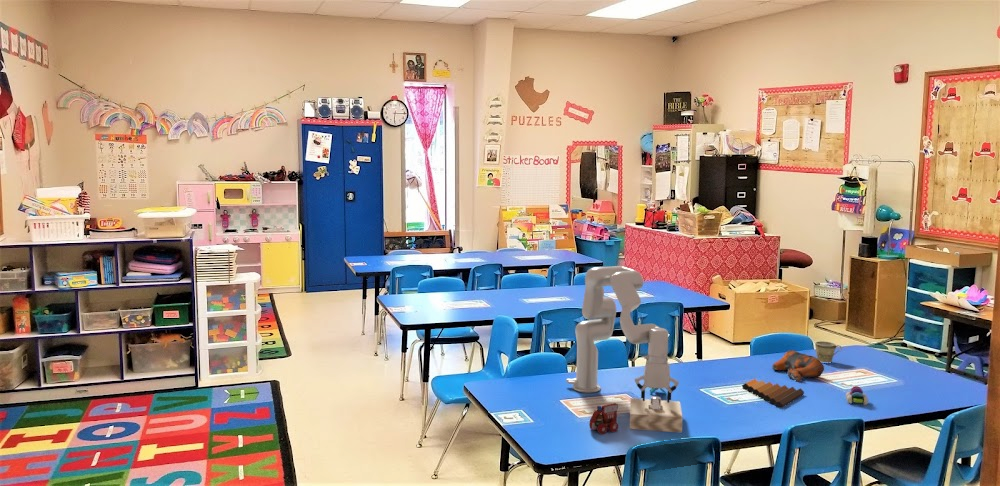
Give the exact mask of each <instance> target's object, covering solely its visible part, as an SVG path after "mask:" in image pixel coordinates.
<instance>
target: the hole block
mask: <svg viewBox="0 0 1000 486" xmlns="http://www.w3.org/2000/svg"><path fill="white" fill-rule="evenodd" d="M629 404H630V407H629V409H630V410H629V429H630V430H639V431H643V430H644V431H655V432H668V433H683V412H682V411H683V410H682V405H681V402H680V401H678V400H677V401H676V400H669V403H668V402H667V400H662V399H661V410H651V409H650V405H651V398H650V399H649V398H647V399H646V398H645V401H643V398H634V397H630V403H629Z"/></svg>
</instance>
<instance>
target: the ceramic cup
mask: <svg viewBox="0 0 1000 486" xmlns="http://www.w3.org/2000/svg"><path fill="white" fill-rule="evenodd" d="M814 344H815V345H814V347H815V352H816V358H817V359H818V360H819V361H821V362H828V363H829V362H833V359H834V356H835V355H836V354H837V353H839V352H840V351H842V346H841V345H838V344H836V343H834V342H831V341H830V342H829V341H826V340H825V341H824V340H823V341H821V340H819V341H815V342H814ZM839 347H840V349H838V350H837V351H835V350H836V349H837V348H839Z"/></svg>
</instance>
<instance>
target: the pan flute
mask: <svg viewBox="0 0 1000 486" xmlns="http://www.w3.org/2000/svg"><path fill="white" fill-rule="evenodd" d="M741 386H742V389H743V388H744V389H743V390H747V392H748V391H750V392H749V393H752V392H753V393H752V395H754V394H756V395H755V396H757V398H759V397H761V398H760V399H763V398H764V399H763V401H764V400H765V402H768V403H769V404H770V403H771V404H770V405H774V404H775V405H774V406H776V407H775V408H778V407H780V408H779V409H782V408H784V407H786V406H788V405H789V404H790V402H791V403H792V402H794V401H796V400H798V399H799V398H800V396H801V397H802V396H804V394H805V391H804V390H803V389H802V387H800V388H798V389H796V388H794V386H791V387H788V386H786V384H785V385H784V384H783V385H782V386H781V385H779V384H778V383H775V384H773V383H772V382H771V381H769V382H765V381H764V380H763V379H761V380H760V381H758V380H757V379H756V378H754V379H751V380H749V381H747V382H746V383H744V384H741ZM798 397H799V398H798ZM795 399H796V400H795ZM793 400H794V401H793ZM788 403H789V404H788ZM785 405H786V406H785Z"/></svg>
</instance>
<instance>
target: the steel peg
mask: <svg viewBox="0 0 1000 486" xmlns="http://www.w3.org/2000/svg"><path fill="white" fill-rule="evenodd" d="M650 400H651V405H650V409H651V410H661V400H662V398H661V396H655V395H654V396H651V397H650Z"/></svg>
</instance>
